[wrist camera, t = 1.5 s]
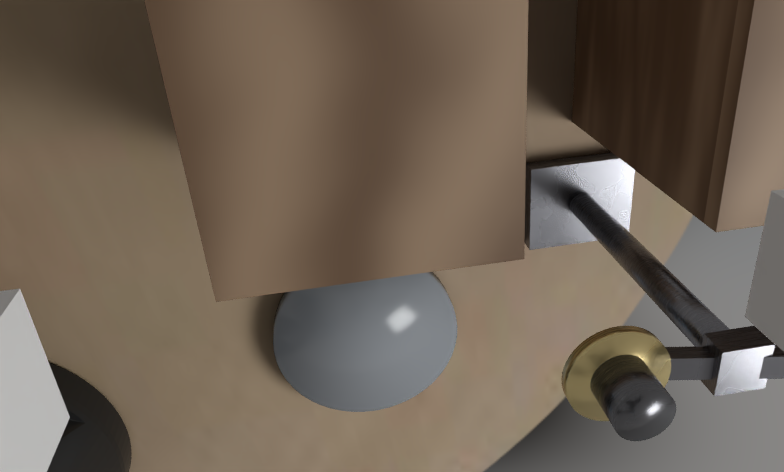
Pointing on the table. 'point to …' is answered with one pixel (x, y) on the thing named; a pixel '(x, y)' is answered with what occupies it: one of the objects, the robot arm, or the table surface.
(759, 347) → the balance
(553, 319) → the table surface
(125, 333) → the table surface
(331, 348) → the dish
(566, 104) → the table surface
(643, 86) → the cover
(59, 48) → the table surface
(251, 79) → the cover
